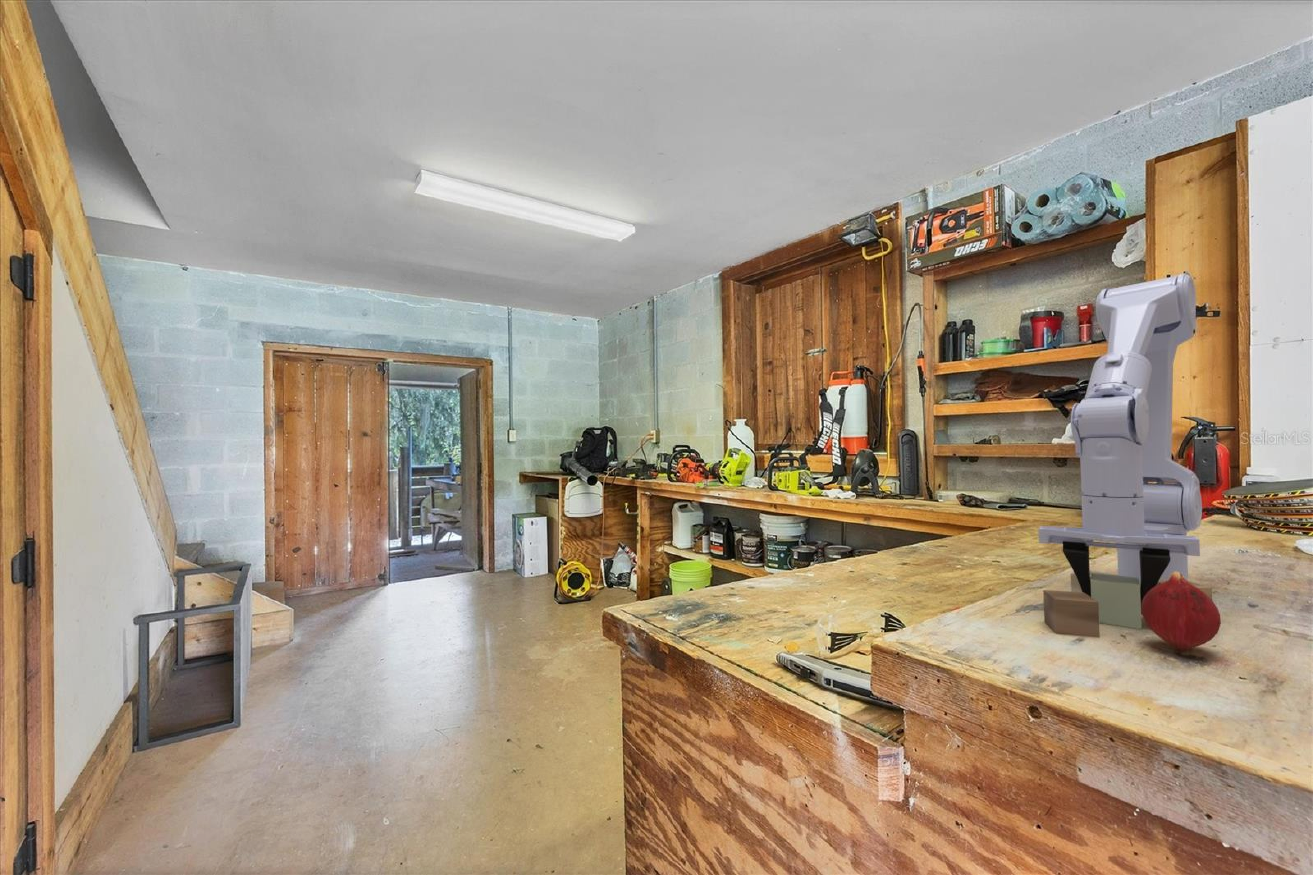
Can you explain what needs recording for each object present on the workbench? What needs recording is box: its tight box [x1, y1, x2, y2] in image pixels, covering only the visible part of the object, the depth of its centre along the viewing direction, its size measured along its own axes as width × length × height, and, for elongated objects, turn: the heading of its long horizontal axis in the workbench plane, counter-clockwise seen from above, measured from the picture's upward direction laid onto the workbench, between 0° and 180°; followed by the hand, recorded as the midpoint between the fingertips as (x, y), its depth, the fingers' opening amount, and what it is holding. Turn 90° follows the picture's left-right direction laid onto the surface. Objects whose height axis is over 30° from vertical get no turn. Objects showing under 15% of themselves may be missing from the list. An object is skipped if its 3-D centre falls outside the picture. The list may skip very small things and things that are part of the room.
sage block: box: [1091, 573, 1142, 630], centre depth 64 cm, size 4×4×5 cm
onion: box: [1141, 571, 1222, 652], centre depth 55 cm, size 6×6×8 cm
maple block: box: [1070, 570, 1119, 592], centre depth 71 cm, size 4×4×4 cm
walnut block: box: [1042, 589, 1101, 639], centre depth 61 cm, size 4×4×4 cm
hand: (1115, 608), depth 64 cm, fingers closed on sage block, 4 cm apart
